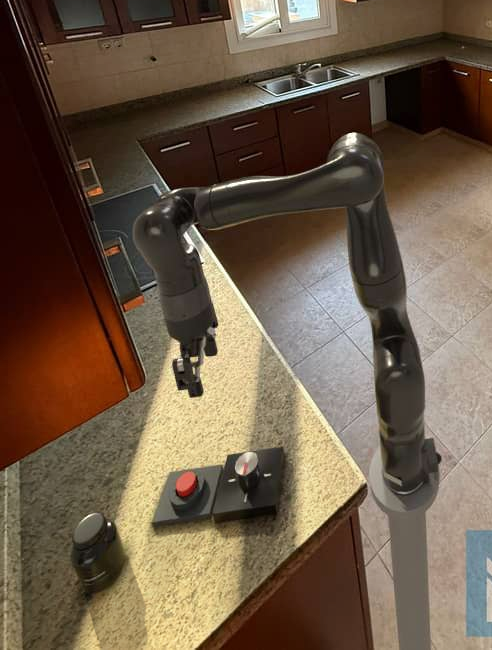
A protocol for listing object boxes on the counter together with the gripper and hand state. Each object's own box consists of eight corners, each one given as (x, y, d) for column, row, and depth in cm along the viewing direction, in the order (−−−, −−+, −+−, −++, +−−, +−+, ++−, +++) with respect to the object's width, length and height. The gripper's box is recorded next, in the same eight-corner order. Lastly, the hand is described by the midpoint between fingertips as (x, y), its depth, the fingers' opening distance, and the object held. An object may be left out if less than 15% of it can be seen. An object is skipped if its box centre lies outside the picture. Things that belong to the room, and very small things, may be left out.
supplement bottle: (93, 606, 73) (73, 563, 70) (76, 578, 77) (56, 536, 73) (134, 562, 79) (118, 520, 75) (116, 537, 83) (100, 496, 79)
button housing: (223, 469, 93) (220, 458, 92) (211, 519, 85) (207, 507, 84) (171, 477, 92) (167, 466, 91) (153, 528, 84) (149, 516, 83)
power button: (199, 476, 89) (197, 470, 89) (193, 495, 86) (191, 490, 85) (181, 478, 89) (179, 472, 88) (174, 498, 86) (172, 492, 85)
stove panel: (285, 455, 95) (283, 445, 94) (277, 514, 85) (274, 504, 84) (229, 463, 94) (227, 454, 93) (214, 524, 84) (211, 513, 83)
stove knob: (241, 468, 91) (237, 452, 89) (262, 465, 91) (259, 449, 89) (236, 491, 86) (232, 475, 85) (258, 488, 87) (254, 472, 85)
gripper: (195, 333, 67) (214, 408, 72) (221, 273, 81) (235, 340, 86) (145, 339, 67) (168, 414, 72) (179, 278, 80) (196, 345, 85)
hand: (204, 374), depth 79 cm, fingers open, 8 cm apart
